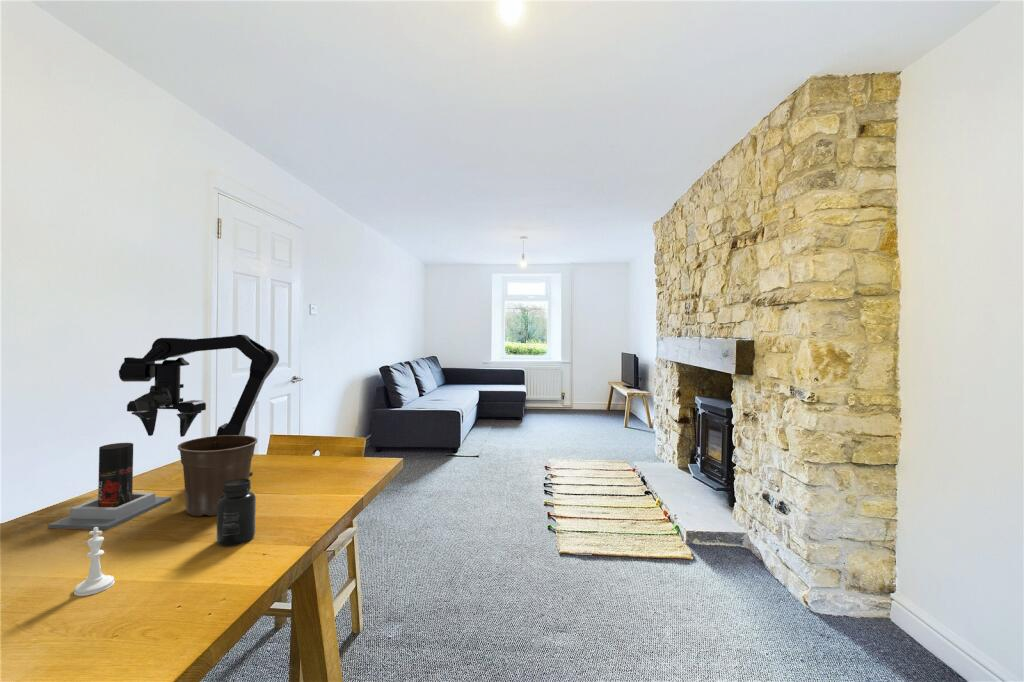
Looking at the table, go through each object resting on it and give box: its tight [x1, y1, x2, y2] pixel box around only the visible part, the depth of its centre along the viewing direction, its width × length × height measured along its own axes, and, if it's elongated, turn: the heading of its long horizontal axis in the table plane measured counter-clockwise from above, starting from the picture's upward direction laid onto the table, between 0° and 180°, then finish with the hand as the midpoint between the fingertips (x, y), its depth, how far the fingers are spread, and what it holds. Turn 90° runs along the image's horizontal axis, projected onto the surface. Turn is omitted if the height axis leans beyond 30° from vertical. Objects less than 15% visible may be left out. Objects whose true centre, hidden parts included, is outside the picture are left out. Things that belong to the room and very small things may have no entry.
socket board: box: [47, 491, 172, 531], centre depth 101 cm, size 13×17×3 cm
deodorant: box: [97, 442, 134, 507], centre depth 102 cm, size 6×6×15 cm
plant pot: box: [177, 434, 258, 517], centre depth 106 cm, size 16×16×16 cm
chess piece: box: [73, 527, 115, 597], centre depth 72 cm, size 5×5×10 cm
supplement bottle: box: [216, 478, 257, 547], centre depth 90 cm, size 7×7×12 cm
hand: (166, 436), depth 123 cm, fingers open, 9 cm apart
